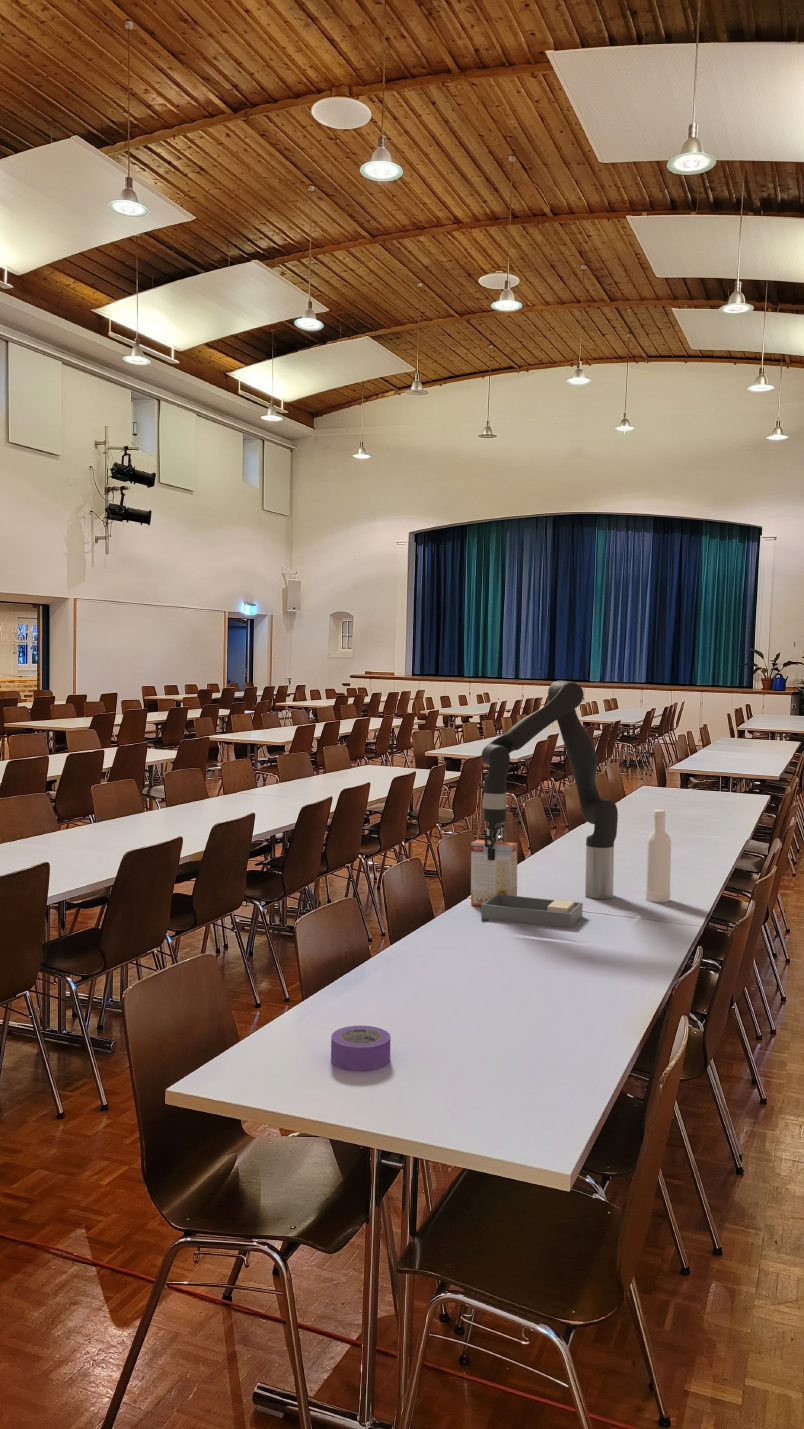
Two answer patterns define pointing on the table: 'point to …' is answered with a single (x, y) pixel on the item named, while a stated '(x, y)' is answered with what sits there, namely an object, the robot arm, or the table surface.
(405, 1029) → the table surface
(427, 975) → the table surface
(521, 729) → the robot arm
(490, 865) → the cracker box
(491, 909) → the tote
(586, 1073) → the table surface
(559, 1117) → the table surface
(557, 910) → the beige block
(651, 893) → the bottle
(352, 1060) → the tape roll
